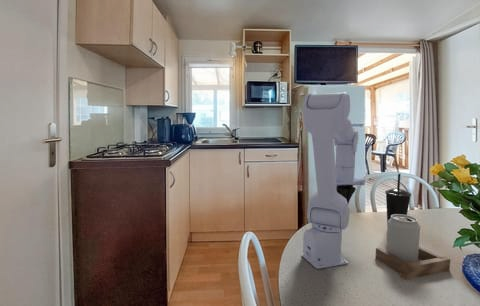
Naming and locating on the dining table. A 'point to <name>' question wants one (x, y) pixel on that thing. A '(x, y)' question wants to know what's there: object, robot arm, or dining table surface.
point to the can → (403, 237)
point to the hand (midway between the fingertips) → (343, 208)
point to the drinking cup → (397, 201)
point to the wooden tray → (415, 264)
